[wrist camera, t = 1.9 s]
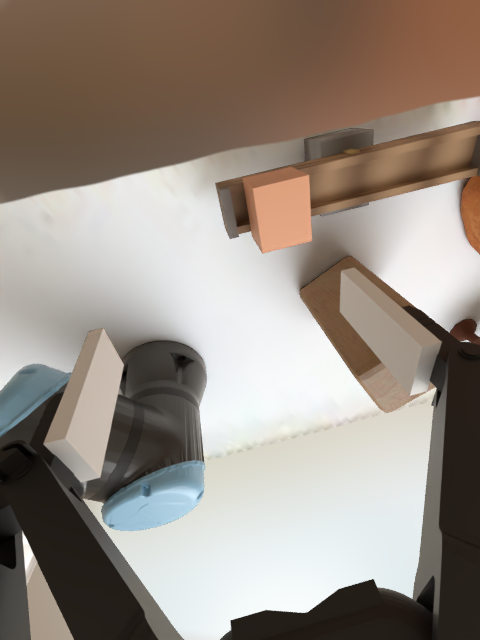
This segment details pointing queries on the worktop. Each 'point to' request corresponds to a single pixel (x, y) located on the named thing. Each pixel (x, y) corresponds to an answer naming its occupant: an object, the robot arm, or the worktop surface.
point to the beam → (367, 169)
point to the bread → (472, 211)
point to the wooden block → (355, 334)
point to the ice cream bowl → (466, 331)
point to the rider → (279, 208)
